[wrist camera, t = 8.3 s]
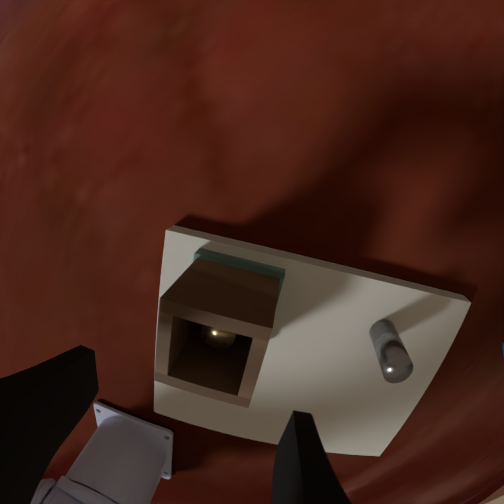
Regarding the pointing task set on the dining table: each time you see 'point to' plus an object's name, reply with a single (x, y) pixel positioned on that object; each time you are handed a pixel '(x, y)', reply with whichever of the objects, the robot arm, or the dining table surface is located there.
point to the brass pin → (217, 337)
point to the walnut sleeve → (217, 326)
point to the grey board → (322, 349)
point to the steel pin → (390, 351)
